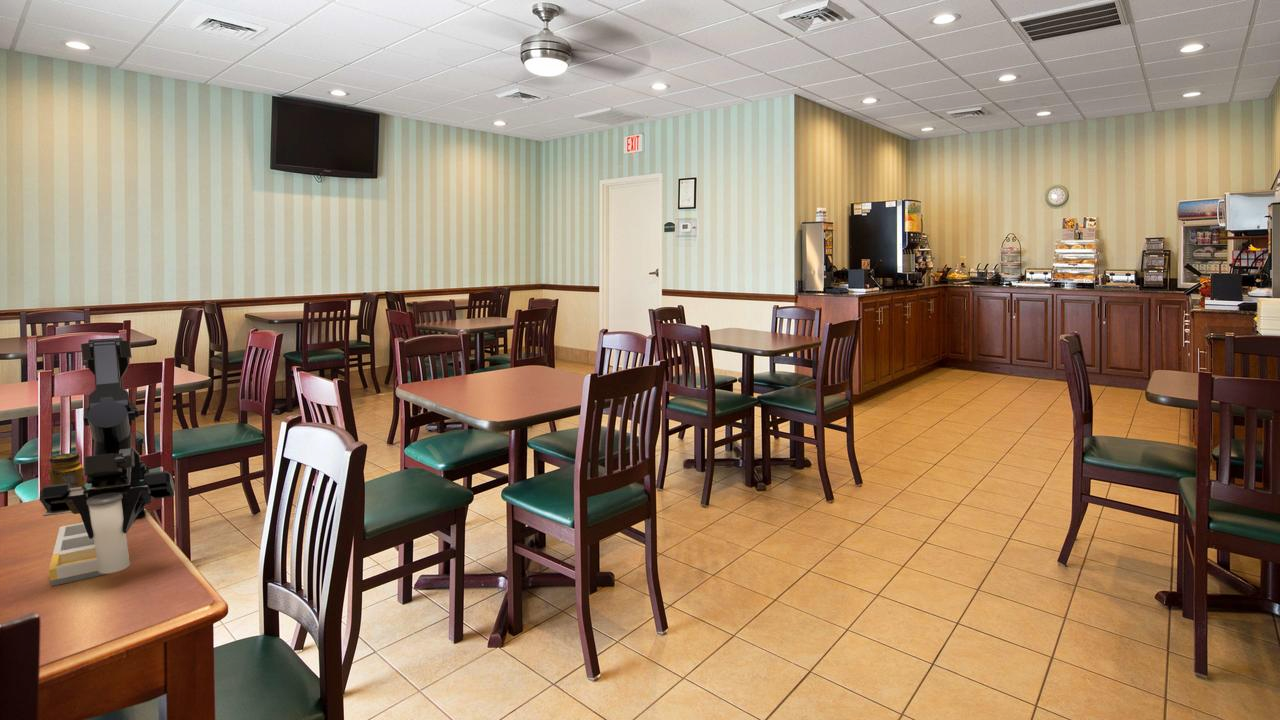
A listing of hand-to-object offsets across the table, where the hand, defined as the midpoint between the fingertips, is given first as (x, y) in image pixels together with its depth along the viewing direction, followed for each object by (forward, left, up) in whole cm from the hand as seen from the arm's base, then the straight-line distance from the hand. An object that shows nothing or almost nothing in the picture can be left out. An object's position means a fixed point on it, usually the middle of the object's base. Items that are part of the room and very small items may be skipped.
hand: (107, 535), depth 122 cm
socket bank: (+5, -18, -9) cm, 21 cm away
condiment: (+9, -54, -10) cm, 56 cm away
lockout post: (0, -1, -7) cm, 7 cm away
